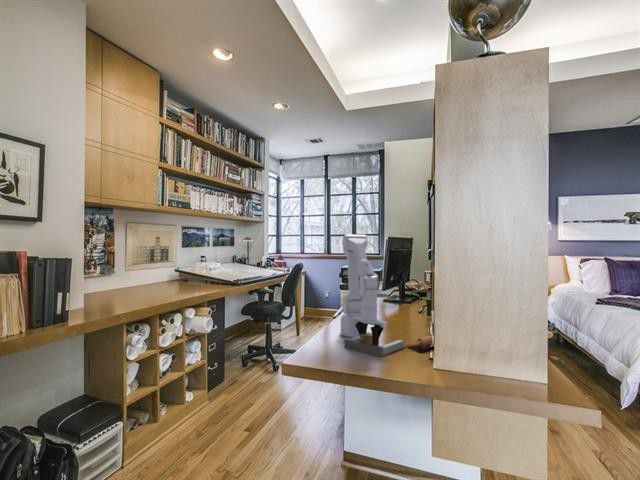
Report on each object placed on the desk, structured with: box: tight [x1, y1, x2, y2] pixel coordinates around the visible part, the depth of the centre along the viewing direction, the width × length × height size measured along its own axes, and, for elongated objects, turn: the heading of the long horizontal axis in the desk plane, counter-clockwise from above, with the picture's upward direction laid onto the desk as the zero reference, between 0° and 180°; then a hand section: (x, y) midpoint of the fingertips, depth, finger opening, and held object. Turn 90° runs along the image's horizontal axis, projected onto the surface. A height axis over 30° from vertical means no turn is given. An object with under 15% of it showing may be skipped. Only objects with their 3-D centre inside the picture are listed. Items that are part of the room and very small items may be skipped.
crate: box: [360, 331, 380, 346], centre depth 119 cm, size 5×5×5 cm
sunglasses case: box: [404, 334, 433, 353], centre depth 123 cm, size 18×7×7 cm, turn 129°
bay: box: [343, 336, 405, 358], centre depth 121 cm, size 16×16×3 cm
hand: (369, 343), depth 119 cm, fingers closed on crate, 5 cm apart
